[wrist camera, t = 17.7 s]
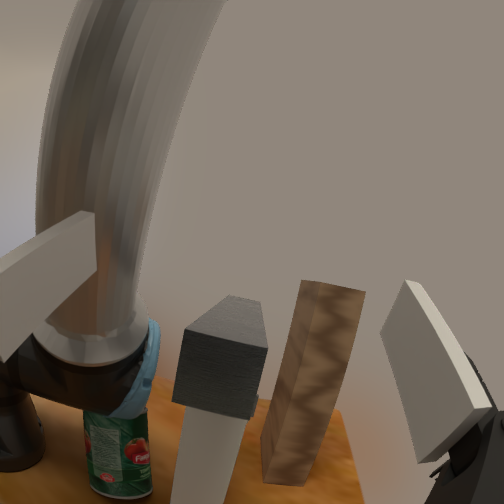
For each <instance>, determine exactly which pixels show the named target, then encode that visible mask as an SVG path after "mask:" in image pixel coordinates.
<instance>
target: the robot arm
mask: <svg viewBox="0 0 504 504" xmlns="http://www.w3.org/2000/svg"><path fill="white" fill-rule="evenodd" d="M226 1H228V0H78V1H77V4H76V6H75V9H74V11H73V13H72V16H71V19H70V21H69V24H68V27H67V30H66V32H65V35H64V39H63V41H62V45H61V48H60V51H59V55H58V58H57V61H56V65H55V69H54V73H53V76H52V81H51V85H50V89H49V94H48V98H47V103H46V109H45V114H44V120H43V126H42V133H41V140H40V148H39V157H38V168H37V182H36V213H35V215H36V218H35V221H36V223H35V224H36V236H35V237H33V238H32V239H30V240H28V241H27V242H25V243H23V244H22V245H20V246H19V247H17V248H16V249H14V250H12V251H11V252H9V253H8V254H6V255H5V256H3V257H2V258H0V471H19V470H23V469H26V468H28V467H30V466H32V465H34V464H35V463H37V462H38V461H39V460H40V458H41V457H42V455H43V454H44V451H45V436H44V429H43V426H42V423H41V421H40V419H39V417H38V416H37V413H36V410H35V407H34V404H33V402H32V399H31V397H30V394H29V393H31V394H34V395H37V396H39V397H42V398H45V399H48V400H51V401H54V402H57V403H60V404H64V405H67V406H70V407H74V408H77V409H81V410H84V411H88V412H92V413H96V414H100V415H103V417H106V418H113V417H115V418H121V419H134V418H136V417H138V416H139V415H140V414H141V413H142V411H143V410H144V408H145V406H146V404H147V401H148V398H149V395H150V392H151V386H152V383H151V382H152V381H153V379H154V375H155V372H156V367H157V362H158V356H159V349H160V336H161V334H160V327H159V324H158V323H157V322H156V321H154V320H151V319H150V318H149V317H148V311H147V307H146V304H145V302H144V300H143V298H142V297H141V295H140V294H139V293H138V291H137V287H138V281H139V275H140V270H141V265H142V259H143V254H144V249H145V244H146V239H147V234H148V230H149V226H150V221H151V216H152V212H153V208H154V204H155V200H156V196H157V192H158V188H159V184H160V180H161V177H162V173H163V169H164V166H165V162H166V158H167V155H168V152H169V148H170V145H171V142H172V138H173V135H174V132H175V129H176V125H177V122H178V119H179V116H180V113H181V110H182V107H183V104H184V101H185V98H186V96H187V93H188V90H189V87H190V84H191V82H192V79H193V76H194V74H195V71H196V68H197V66H198V63H199V61H200V58H201V55H202V53H203V51H204V48H205V46H206V43H207V41H208V39H209V36H210V34H211V32H212V29H213V27H214V25H215V23H216V20H217V18H218V16H219V14H220V11H221V9H222V7H223V5H224V3H225V2H226ZM380 335H381V338H382V341H383V344H384V347H385V350H386V353H387V355H388V359H389V362H390V365H391V368H392V371H393V374H394V377H395V380H396V384H397V387H398V390H399V394H400V397H401V401H402V404H403V408H404V411H405V415H406V418H407V422H408V426H409V430H410V434H411V437H412V442H413V446H414V450H415V454H416V459H417V463H418V464H419V463H427V462H434V461H437V460H438V459H439V458H440V457H442V456H443V455H444V454H445V453H446V452H447V451H448V452H449V456H450V459H449V460H447V461H446V462H445V463H444V464H442V465H441V466H440V467H439V468H437V469H436V470H435V471H434V472H432V474H431V475H430V476H429V477H431V478H432V477H433V476H435V475H436V474H437V473H439V472H440V474H439V476H438V478H436V479H435V480H436V482H435V484H434V486H433V488H432V490H431V492H430V495H429V496H428V498H427V500H426V502H425V503H424V504H504V411H498V409H497V407H496V405H495V403H494V401H493V399H492V397H491V395H490V393H489V392H488V389H487V387H486V385H485V383H484V382H482V378H481V376H480V374H479V373H478V370H477V368H476V366H475V365H474V363H473V361H472V360H471V359H470V358H469V357H468V356H467V355H466V354H465V352H463V350H462V349H461V347H460V345H459V343H458V342H457V340H456V338H455V337H454V335H453V333H452V332H451V330H450V328H449V327H448V325H447V324H446V322H445V321H444V319H443V317H442V316H441V314H440V313H439V311H438V310H437V308H436V307H435V305H434V304H433V302H432V301H431V299H430V298H429V296H428V295H427V293H426V292H425V290H424V289H423V287H422V286H421V284H420V283H418V282H413V281H409V280H404V283H403V285H402V287H401V289H400V291H399V294H398V296H397V298H396V300H395V303H394V305H393V307H392V309H391V311H390V313H389V315H388V317H387V319H386V321H385V323H384V325H383V327H382V330H381V331H380Z"/></svg>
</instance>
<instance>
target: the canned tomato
mask: <svg viewBox="0 0 504 504" xmlns="http://www.w3.org/2000/svg"><path fill="white" fill-rule="evenodd" d="M147 411H148V409H147V408H146V407H145V408H144V410H143V411H142V413H141V414H140V415H139V416H138V417H136V418H134V419H121V418H115V417H113V418H106V417H103V415H100V414H96V413H92V412H88V411H84V410H83V420H84V435H85V436H84V437H85V446H86V456H87V465H88V466H87V467H88V473H89V479H90V486H91V488H92V489H93V490H94V491H96V492H97V493H99V494H101V495H104V496H107V497H111V498H116V499H137V498H142V497H145V496H147V495H149V494H150V493H151V492H152V490H153V486H152V478H151V468H150V456H149V454H150V453H149V440H148V419H147Z"/></svg>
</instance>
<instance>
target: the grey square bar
mask: <svg viewBox="0 0 504 504" xmlns="http://www.w3.org/2000/svg"><path fill="white" fill-rule="evenodd" d="M267 351H268V345H267V339H266V333H265V327H264V322H263V316H262V310H261V304H260V302H258V301H253V300H249V299H244V298H240V297H235V296H231V295H228V296H227V297H226V298H224V299H223V300H222V301H220V302H219V303H218V304H217V305H215V306H214V307H213V308H211V309H210V310H209V311H207V312H206V313H205V314H204V315H202V316H201V317H199V318H198V319H197V320H196V321H194V322H193V323H192V324H190V325H189V326H188V327H186V328H185V330H184V335H183V340H182V345H181V351H180V356H179V362H178V367H177V372H176V379H175V384H174V390H173V396H172V402H175V403H178V404H181V405H185V406H189V407H192V408H196V409H200V410H204V411H208V412H212V413H216V414H220V415H225V416H229V417H234V418H239V419H243V420H250V417H251V413H252V409H253V406H254V402H255V398H256V394H257V390H258V387H259V383H260V379H261V375H262V371H263V367H264V363H265V359H266V355H267Z"/></svg>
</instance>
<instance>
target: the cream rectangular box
mask: <svg viewBox="0 0 504 504" xmlns="http://www.w3.org/2000/svg"><path fill="white" fill-rule="evenodd" d="M258 397H259V395H257V394H256V398H255V402H254V406H253V409H252V413H251V417H253V416H254V412H255V409H256V405H257V401H258ZM248 421H249V420H243V419H239V418H234V417H229V416H225V415H220V414H216V413H212V412H208V411H204V410H200V409H196V408H192V407H189V406H186V409H185V415H184V421H183V426H182V432H181V438H180V444H179V449H178V455H177V462H176V468H175V474H174V480H173V487H172V494H171V500H170V504H223V502H224V499H225V496H226V492H227V489H228V486H229V482H230V479H231V476H232V472H233V469H234V465H235V462H236V458H237V455H238V451H239V448H240V444H241V440H242V437H243V433H244V429H245V426H246V424H247V423H248Z"/></svg>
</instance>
